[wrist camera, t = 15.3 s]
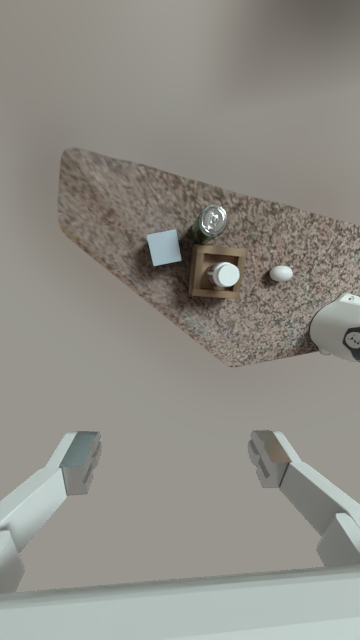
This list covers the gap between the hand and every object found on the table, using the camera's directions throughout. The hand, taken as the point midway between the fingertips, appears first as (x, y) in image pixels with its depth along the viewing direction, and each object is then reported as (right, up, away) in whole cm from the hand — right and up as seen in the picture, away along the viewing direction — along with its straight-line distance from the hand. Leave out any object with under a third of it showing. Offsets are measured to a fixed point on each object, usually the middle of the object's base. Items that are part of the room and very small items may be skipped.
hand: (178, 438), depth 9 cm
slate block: (-4, +23, +32) cm, 39 cm away
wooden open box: (+8, +18, +34) cm, 39 cm away
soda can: (+5, +27, +31) cm, 41 cm away
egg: (+25, +19, +35) cm, 47 cm away
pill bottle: (+9, +17, +30) cm, 36 cm away
